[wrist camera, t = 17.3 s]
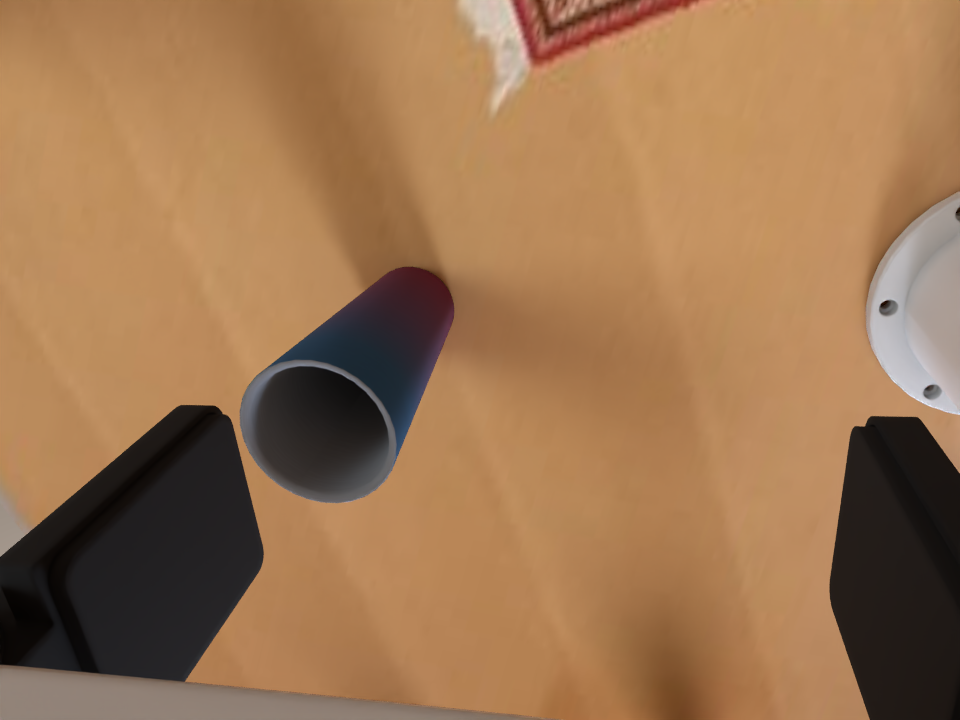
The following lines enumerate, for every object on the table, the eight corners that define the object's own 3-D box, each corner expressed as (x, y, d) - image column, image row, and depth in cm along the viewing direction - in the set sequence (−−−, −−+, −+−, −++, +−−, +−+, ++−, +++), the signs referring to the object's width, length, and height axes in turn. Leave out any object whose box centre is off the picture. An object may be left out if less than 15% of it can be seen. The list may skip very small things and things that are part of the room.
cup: (380, 231, 42) (263, 330, 29) (487, 283, 42) (421, 407, 29) (343, 328, 45) (221, 459, 32) (443, 377, 45) (364, 528, 32)
